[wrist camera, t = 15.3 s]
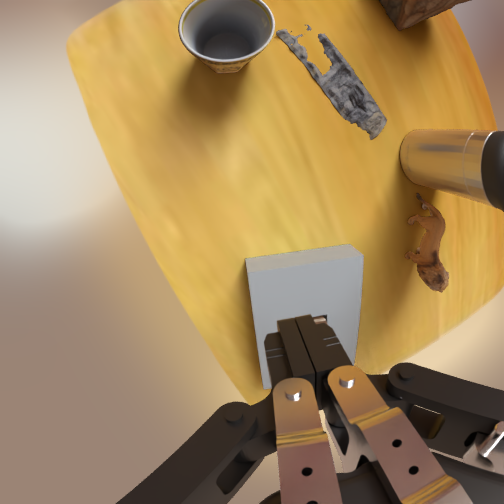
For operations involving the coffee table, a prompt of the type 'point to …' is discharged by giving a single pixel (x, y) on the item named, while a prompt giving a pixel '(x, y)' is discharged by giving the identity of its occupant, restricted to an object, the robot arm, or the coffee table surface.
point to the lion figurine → (430, 249)
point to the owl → (415, 10)
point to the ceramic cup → (226, 32)
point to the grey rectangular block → (307, 293)
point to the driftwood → (341, 85)
